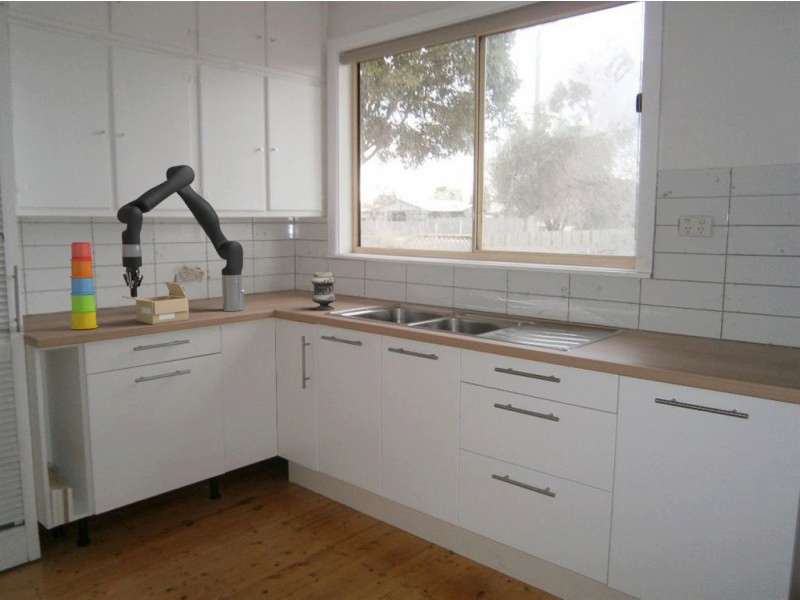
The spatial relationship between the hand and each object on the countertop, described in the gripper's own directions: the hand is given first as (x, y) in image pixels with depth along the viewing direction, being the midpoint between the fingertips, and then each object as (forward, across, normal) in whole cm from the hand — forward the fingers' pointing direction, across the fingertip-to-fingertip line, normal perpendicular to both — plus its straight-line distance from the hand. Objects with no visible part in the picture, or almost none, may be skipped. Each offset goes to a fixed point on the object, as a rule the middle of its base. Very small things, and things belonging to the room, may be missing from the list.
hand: (134, 297), depth 266 cm
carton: (+12, 0, -12) cm, 17 cm away
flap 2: (+2, 0, -20) cm, 21 cm away
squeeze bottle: (+12, +16, -29) cm, 35 cm away
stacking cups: (+12, +6, +18) cm, 22 cm away
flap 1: (+2, 0, -4) cm, 5 cm away
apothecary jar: (+12, -26, -83) cm, 88 cm away
